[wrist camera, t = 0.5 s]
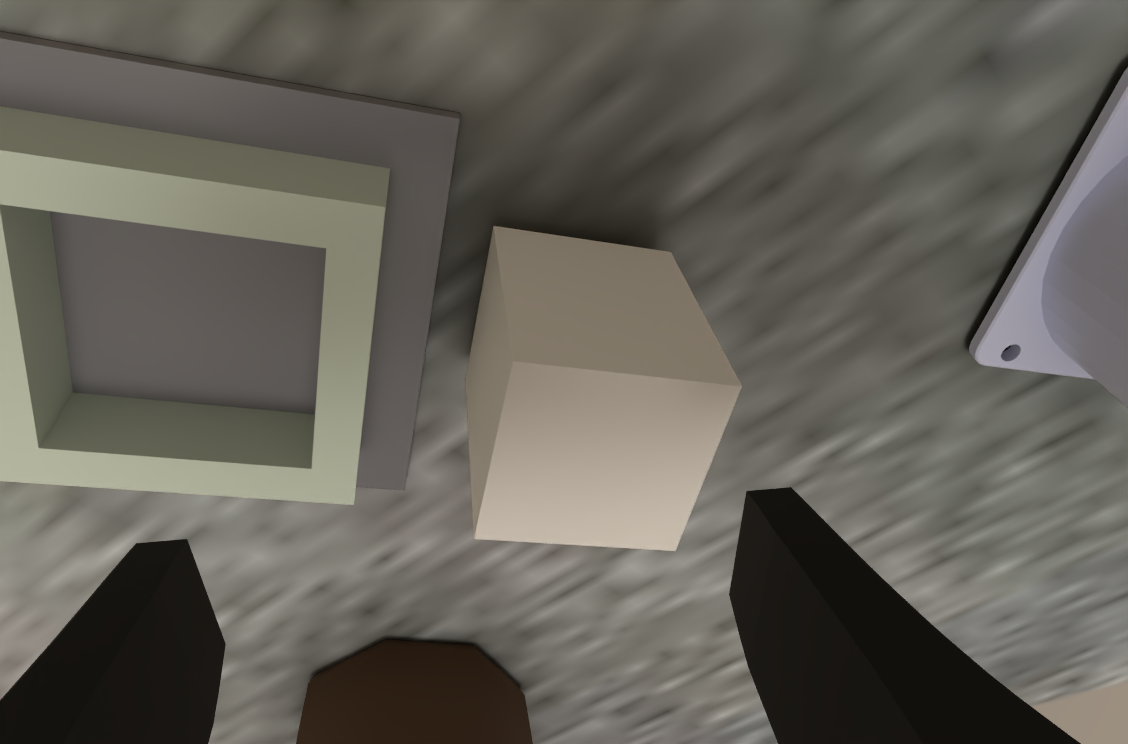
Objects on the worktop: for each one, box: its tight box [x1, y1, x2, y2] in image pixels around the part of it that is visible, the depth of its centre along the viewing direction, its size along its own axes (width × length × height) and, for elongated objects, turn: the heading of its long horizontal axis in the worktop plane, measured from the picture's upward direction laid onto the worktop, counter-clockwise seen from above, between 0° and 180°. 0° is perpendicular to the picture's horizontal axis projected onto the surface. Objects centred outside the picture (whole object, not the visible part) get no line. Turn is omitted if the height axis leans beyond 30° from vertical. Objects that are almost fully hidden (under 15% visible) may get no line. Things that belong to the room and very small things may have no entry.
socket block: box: [0, 32, 460, 505], centre depth 17 cm, size 10×10×2 cm
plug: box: [465, 226, 742, 551], centre depth 17 cm, size 4×4×6 cm
